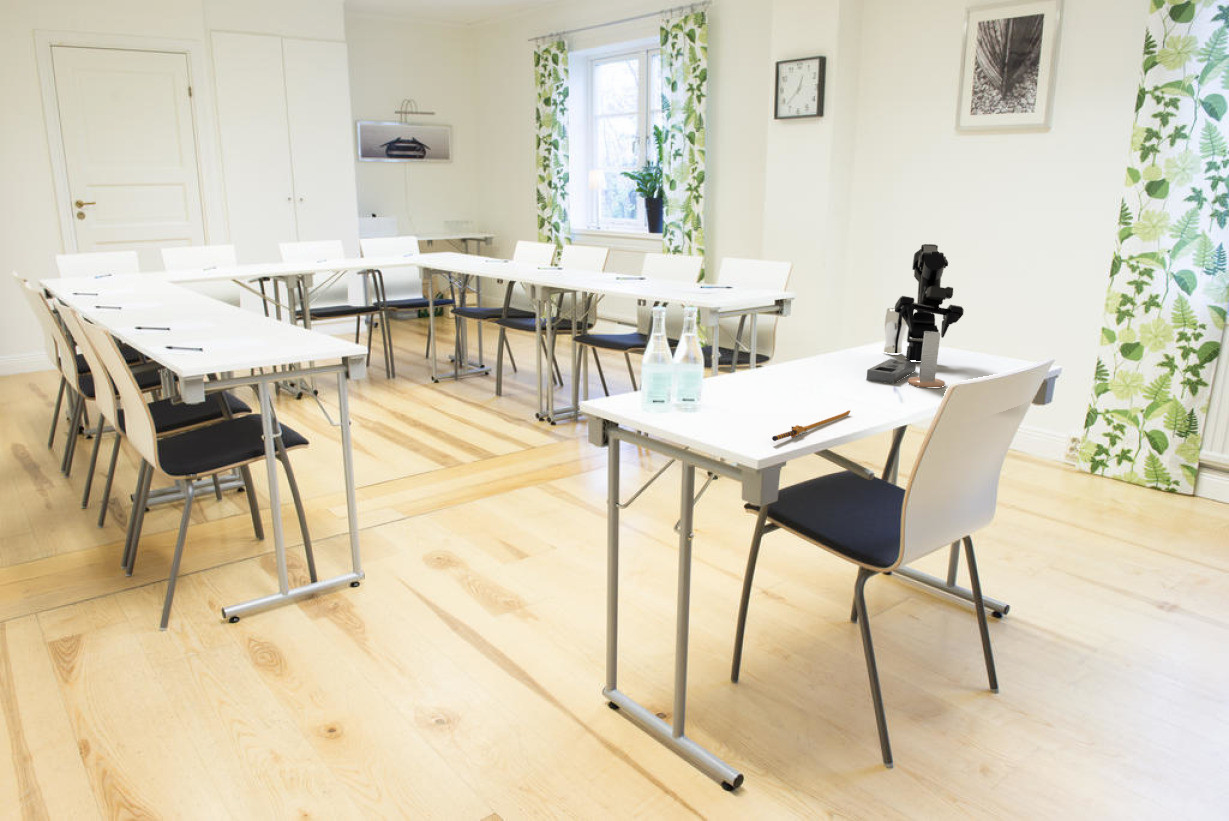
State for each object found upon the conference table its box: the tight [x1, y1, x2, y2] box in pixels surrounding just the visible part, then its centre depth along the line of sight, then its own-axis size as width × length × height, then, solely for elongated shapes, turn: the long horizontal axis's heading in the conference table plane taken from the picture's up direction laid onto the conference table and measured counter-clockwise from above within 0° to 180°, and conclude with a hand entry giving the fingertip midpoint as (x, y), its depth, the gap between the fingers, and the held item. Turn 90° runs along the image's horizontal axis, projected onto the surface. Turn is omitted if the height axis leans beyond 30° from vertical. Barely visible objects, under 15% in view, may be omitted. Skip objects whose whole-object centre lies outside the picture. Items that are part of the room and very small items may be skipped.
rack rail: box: [866, 358, 917, 384], centre depth 256 cm, size 20×8×3 cm, turn 145°
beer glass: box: [883, 307, 907, 353], centre depth 287 cm, size 7×7×15 cm
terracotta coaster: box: [907, 376, 946, 388], centre depth 246 cm, size 10×10×1 cm
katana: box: [771, 410, 851, 442], centre depth 200 cm, size 1×35×3 cm, turn 138°
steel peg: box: [918, 331, 941, 383], centre depth 244 cm, size 4×4×14 cm
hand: (927, 334), depth 252 cm, fingers open, 9 cm apart
